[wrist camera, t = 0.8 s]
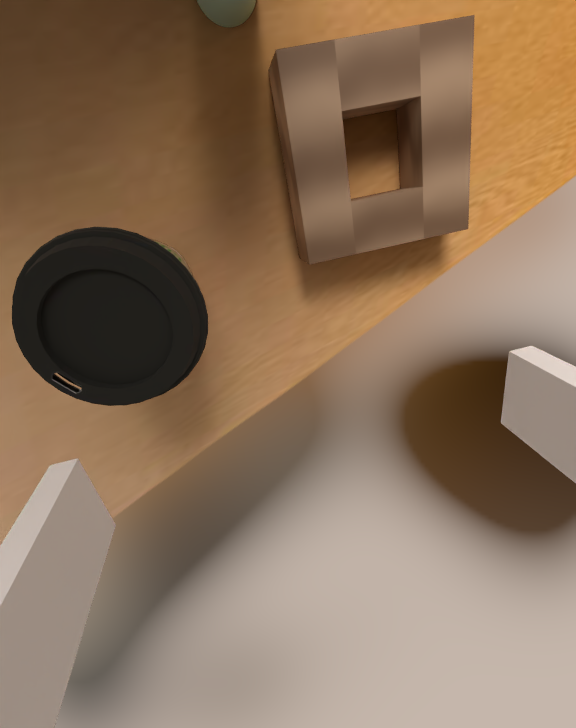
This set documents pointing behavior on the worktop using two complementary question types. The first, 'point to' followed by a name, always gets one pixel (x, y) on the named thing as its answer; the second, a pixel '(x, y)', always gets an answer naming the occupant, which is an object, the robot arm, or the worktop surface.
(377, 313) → the worktop surface
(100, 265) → the coffee cup
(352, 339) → the worktop surface
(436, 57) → the socket block
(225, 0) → the peg
